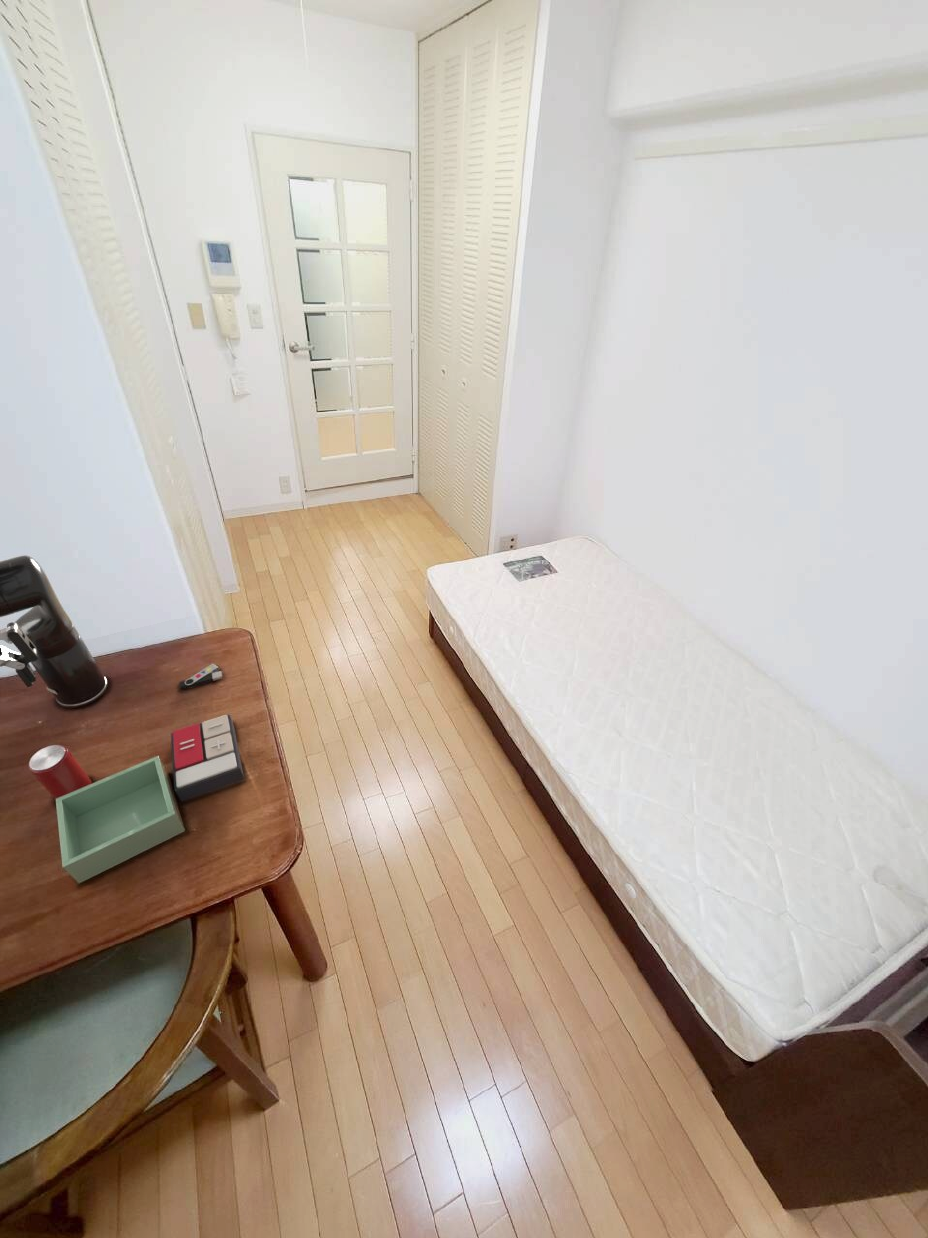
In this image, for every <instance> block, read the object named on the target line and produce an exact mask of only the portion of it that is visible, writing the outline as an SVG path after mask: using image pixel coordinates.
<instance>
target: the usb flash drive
mask: <svg viewBox="0 0 928 1238" xmlns="http://www.w3.org/2000/svg"><path fill="white" fill-rule="evenodd" d="M222 679H223V673H222V670H220V667H218V666H217V665H216V664H214V663H210V665H207V666H206V667H205V668H203V669H202V670H200V671H198V672H197V673H196V674H193V675H192V676H191V677H189V678H187V679H185V680H181V681H179V683H178V684H179V685H178V686H179V689H180V690H181V691H183V690H186V689H187V690H188V689H192V688H194V687H198V686H203V685H205V684H209V683H213V682H214V681H216V680H222Z"/></svg>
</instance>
